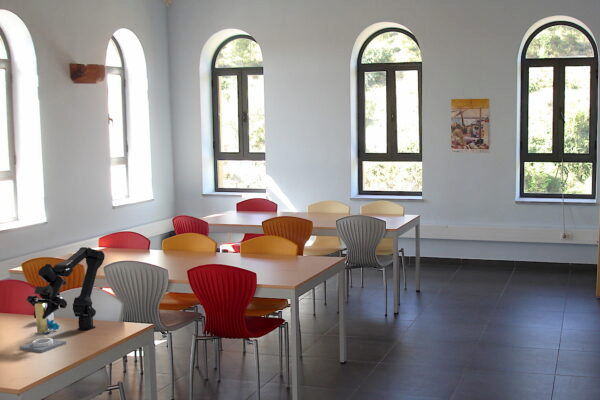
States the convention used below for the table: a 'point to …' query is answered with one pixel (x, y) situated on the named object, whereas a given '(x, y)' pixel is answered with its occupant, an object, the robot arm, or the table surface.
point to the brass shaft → (40, 317)
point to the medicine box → (50, 315)
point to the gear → (51, 325)
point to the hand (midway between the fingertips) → (39, 318)
